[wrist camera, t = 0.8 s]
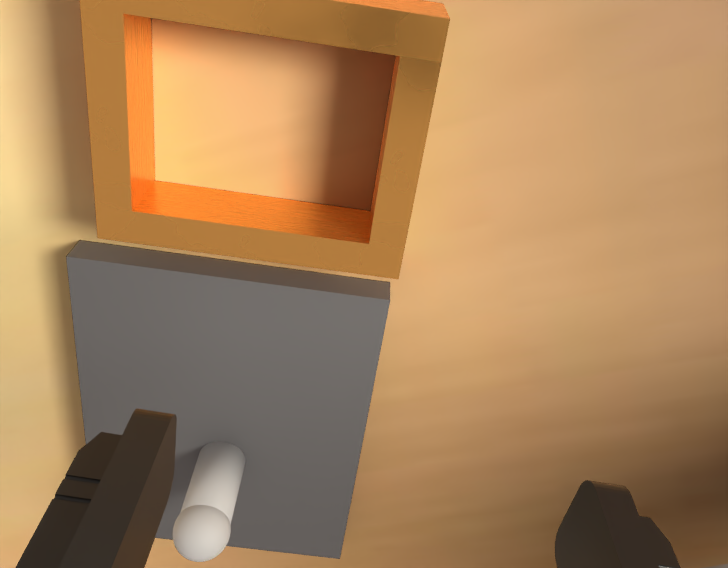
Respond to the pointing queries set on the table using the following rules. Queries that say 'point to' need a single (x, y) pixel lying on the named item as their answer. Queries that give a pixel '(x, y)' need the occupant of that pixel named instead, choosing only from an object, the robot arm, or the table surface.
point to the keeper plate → (233, 387)
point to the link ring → (247, 211)
